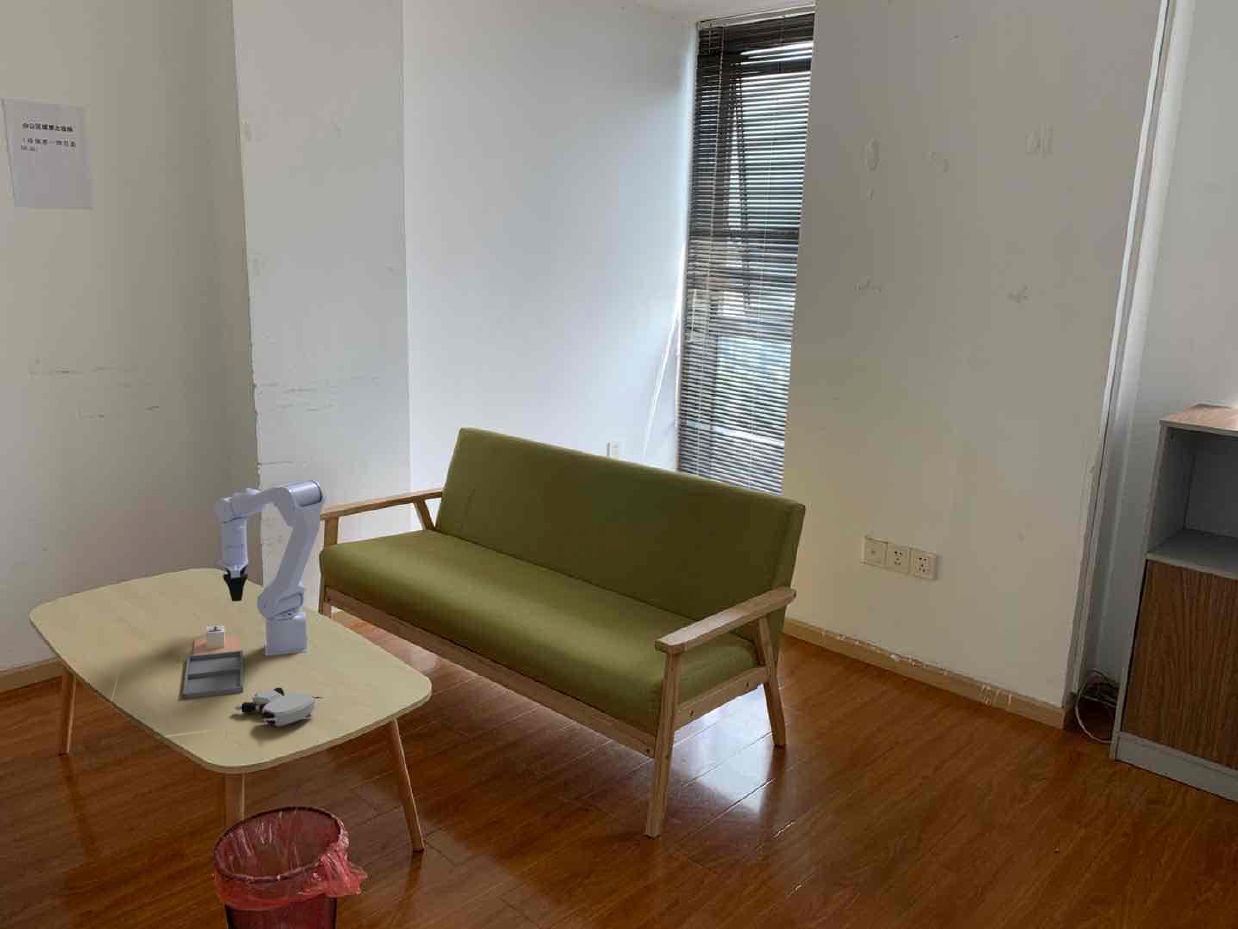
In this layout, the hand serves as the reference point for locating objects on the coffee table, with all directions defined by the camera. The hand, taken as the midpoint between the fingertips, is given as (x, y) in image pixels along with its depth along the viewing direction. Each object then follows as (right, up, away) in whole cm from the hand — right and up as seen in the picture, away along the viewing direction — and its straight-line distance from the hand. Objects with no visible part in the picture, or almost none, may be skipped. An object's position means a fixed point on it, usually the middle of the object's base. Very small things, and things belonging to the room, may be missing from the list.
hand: (236, 595), depth 237 cm
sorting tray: (+4, -16, -22) cm, 27 cm away
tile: (-2, -12, -7) cm, 14 cm away
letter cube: (-2, -11, -7) cm, 13 cm away
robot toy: (+24, -21, -37) cm, 49 cm away
